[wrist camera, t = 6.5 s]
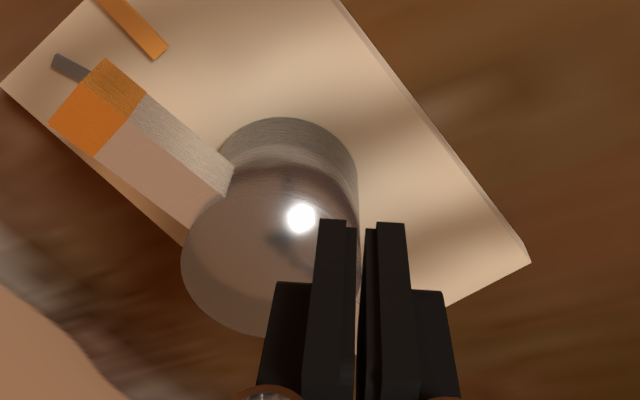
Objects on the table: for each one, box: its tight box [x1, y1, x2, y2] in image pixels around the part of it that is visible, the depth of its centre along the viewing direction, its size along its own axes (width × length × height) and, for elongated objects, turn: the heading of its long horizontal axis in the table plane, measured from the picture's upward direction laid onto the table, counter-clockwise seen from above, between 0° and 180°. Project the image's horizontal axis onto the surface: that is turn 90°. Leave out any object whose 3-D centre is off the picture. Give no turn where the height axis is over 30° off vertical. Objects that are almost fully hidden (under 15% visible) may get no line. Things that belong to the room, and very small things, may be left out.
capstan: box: [46, 58, 362, 355], centre depth 22 cm, size 16×6×6 cm, turn 45°
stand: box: [0, 0, 532, 307], centre depth 25 cm, size 20×12×2 cm, turn 39°
